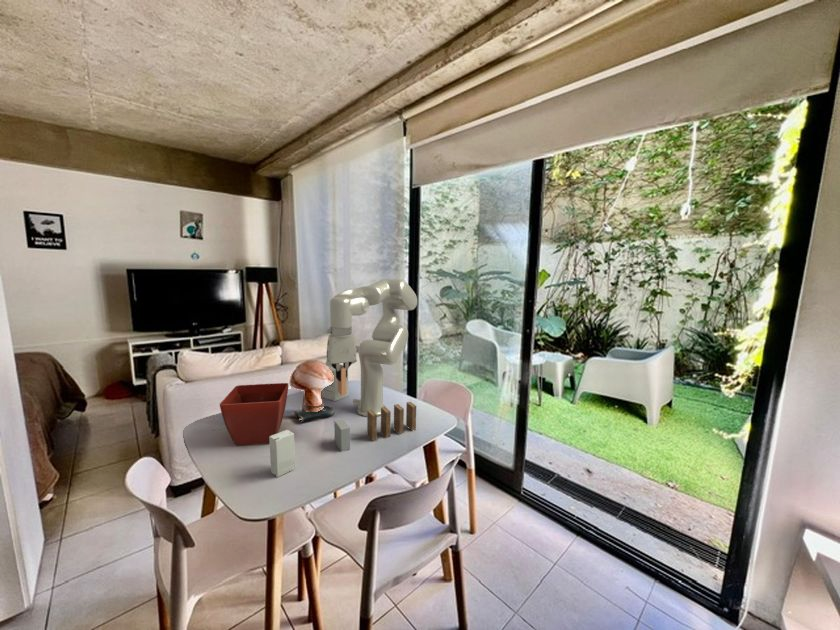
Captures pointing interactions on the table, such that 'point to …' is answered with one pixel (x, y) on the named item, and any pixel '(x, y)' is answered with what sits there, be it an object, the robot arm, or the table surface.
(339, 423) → the block
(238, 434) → the plant pot
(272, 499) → the table surface
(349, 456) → the table surface
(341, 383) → the domino end
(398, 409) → the domino
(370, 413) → the domino
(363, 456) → the table surface
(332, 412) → the electronic device
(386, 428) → the domino
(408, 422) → the domino
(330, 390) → the supplement box
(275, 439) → the skincare box
